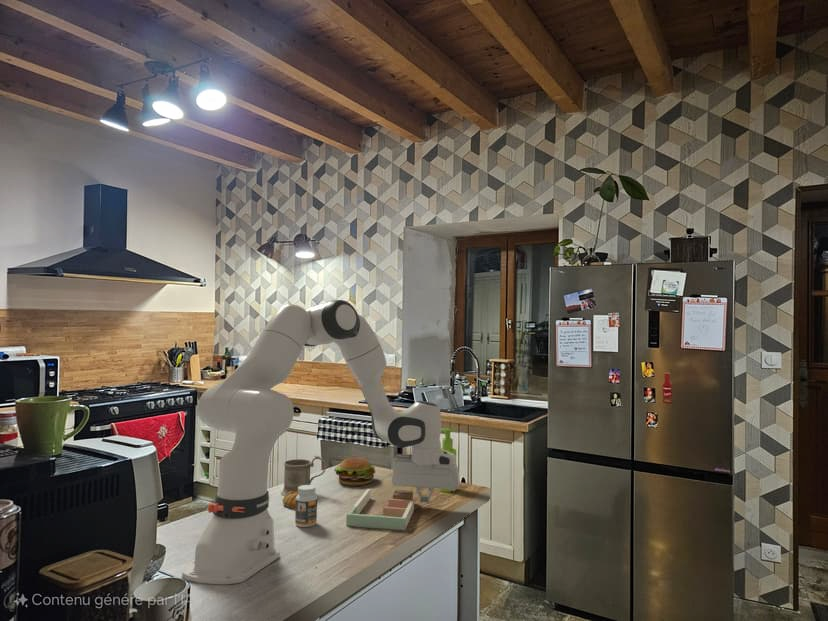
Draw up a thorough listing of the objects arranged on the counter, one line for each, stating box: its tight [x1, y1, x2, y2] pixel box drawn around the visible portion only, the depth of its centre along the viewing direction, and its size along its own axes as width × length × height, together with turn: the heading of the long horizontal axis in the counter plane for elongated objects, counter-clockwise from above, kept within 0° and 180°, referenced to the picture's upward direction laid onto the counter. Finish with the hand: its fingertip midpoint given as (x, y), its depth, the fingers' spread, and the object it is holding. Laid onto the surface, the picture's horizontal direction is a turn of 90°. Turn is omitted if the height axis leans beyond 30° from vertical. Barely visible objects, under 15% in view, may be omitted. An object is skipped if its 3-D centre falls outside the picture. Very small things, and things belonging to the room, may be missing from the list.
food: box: [334, 456, 376, 486], centre depth 194 cm, size 14×14×8 cm
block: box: [392, 489, 414, 500], centre depth 169 cm, size 6×6×4 cm
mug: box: [280, 455, 327, 497], centre depth 179 cm, size 14×10×12 cm
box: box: [345, 488, 415, 531], centre depth 161 cm, size 24×16×3 cm, turn 171°
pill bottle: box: [294, 484, 318, 528], centre depth 151 cm, size 6×6×10 cm
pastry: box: [282, 491, 299, 511], centre depth 166 cm, size 9×7×4 cm
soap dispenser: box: [437, 428, 457, 493], centre depth 186 cm, size 6×7×20 cm
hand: (425, 502), depth 167 cm, fingers closed
